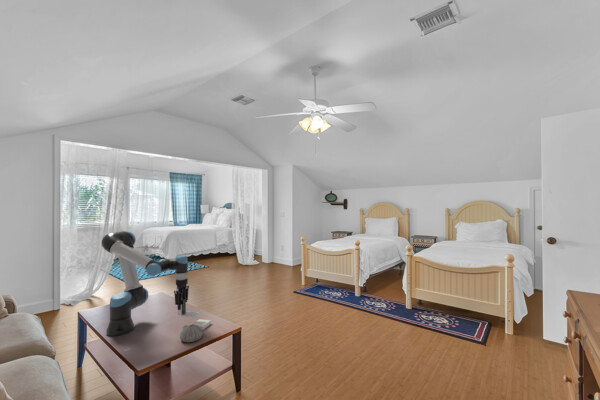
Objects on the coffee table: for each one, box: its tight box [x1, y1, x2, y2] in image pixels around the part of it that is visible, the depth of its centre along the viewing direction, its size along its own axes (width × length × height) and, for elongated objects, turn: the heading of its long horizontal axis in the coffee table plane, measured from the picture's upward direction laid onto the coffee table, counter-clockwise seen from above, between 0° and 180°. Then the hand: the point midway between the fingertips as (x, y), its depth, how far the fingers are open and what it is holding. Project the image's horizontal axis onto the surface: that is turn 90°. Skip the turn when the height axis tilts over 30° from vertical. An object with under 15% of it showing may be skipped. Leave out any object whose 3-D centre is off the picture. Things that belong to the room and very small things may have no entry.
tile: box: [192, 318, 212, 331], centre depth 185 cm, size 10×3×9 cm
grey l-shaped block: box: [177, 298, 203, 318], centre depth 187 cm, size 7×15×10 cm, turn 77°
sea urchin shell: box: [179, 323, 204, 343], centre depth 168 cm, size 13×14×8 cm
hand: (181, 313), depth 189 cm, fingers closed on grey l-shaped block, 3 cm apart
